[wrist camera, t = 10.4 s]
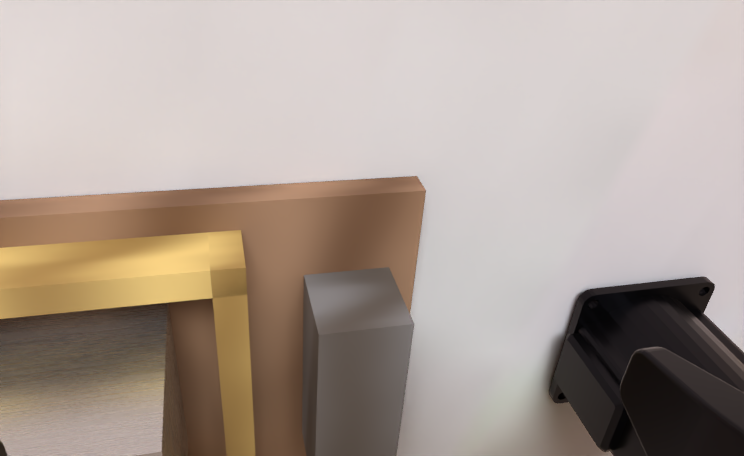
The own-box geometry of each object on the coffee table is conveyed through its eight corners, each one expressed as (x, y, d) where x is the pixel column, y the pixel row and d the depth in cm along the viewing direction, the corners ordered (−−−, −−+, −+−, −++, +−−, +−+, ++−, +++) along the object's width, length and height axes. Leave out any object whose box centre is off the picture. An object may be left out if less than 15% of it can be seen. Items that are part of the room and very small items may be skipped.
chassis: (416, 176, 21) (457, 241, 18) (384, 444, 29) (409, 524, 26) (-211, 212, 17) (-304, 306, 14) (-57, 516, 25) (-94, 622, 21)
